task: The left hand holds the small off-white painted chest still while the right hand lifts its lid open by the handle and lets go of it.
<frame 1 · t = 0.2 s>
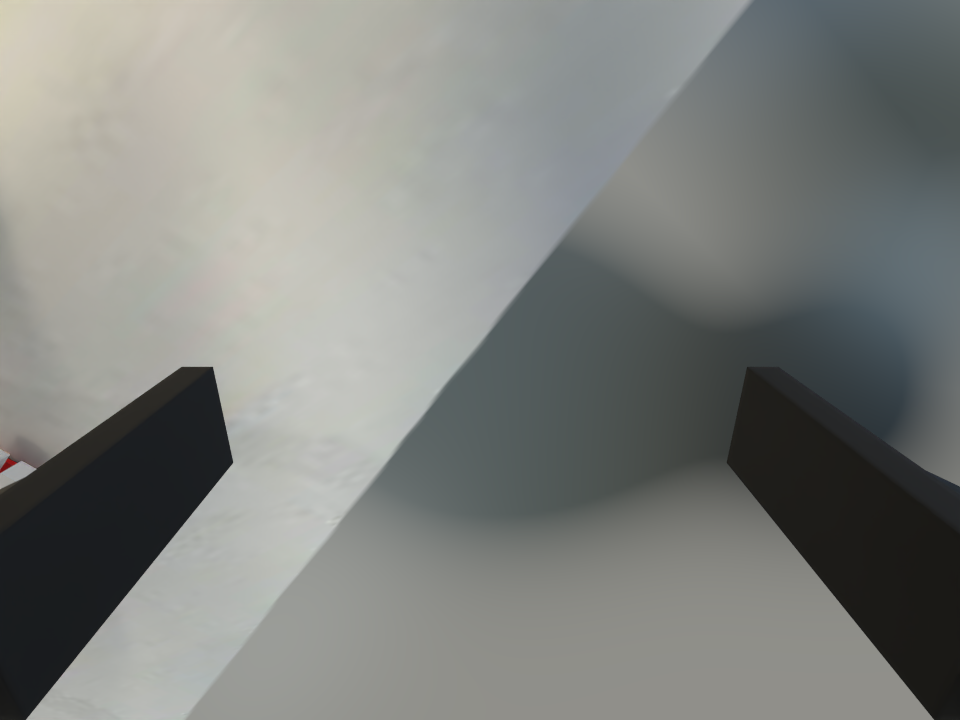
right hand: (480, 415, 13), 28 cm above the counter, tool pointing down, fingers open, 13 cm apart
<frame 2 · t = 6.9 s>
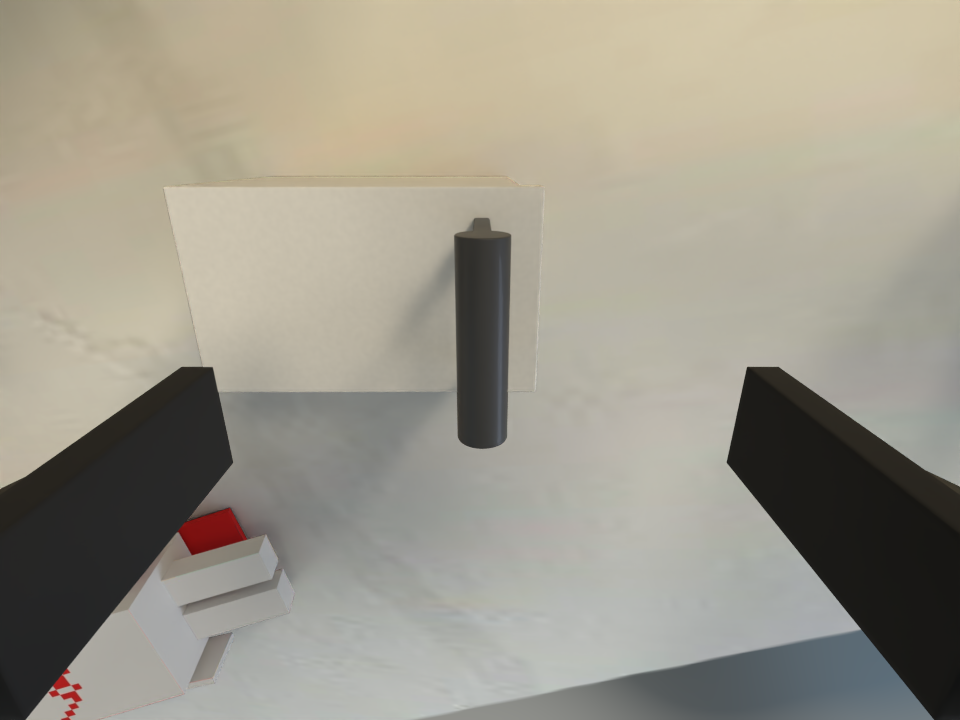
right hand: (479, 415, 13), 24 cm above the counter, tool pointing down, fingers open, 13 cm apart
chest: (394, 251, 35), on the counter
lid: (348, 315, 21), point 15 cm above the counter, hinge at 0.0°
toy: (138, 567, 46), on the counter
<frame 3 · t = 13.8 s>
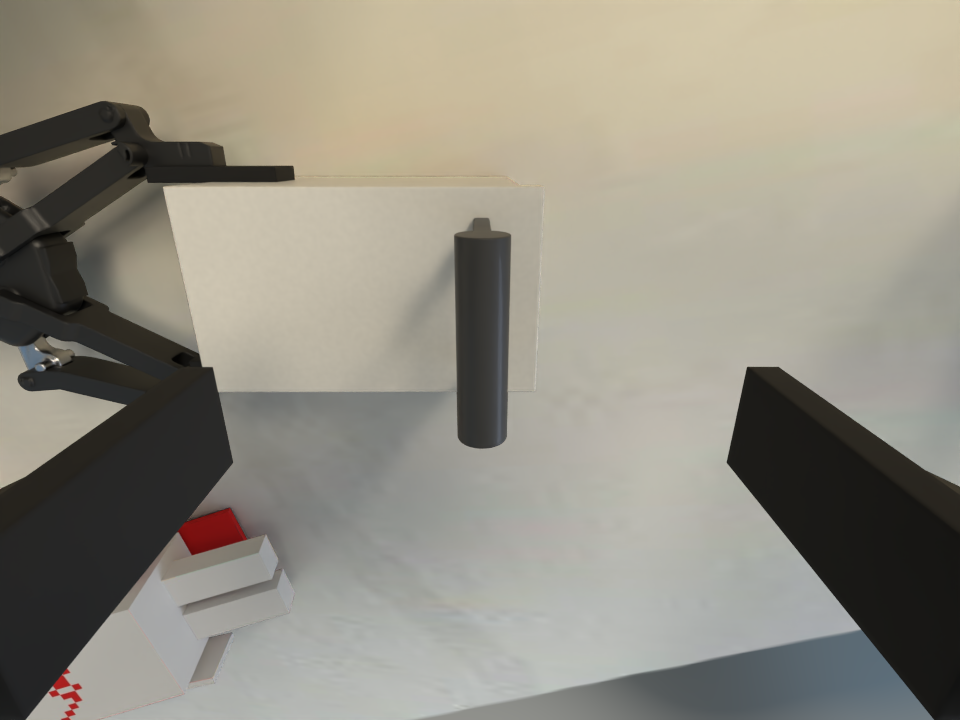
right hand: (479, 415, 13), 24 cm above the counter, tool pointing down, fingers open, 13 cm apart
left hand: (298, 272, 29), fingers closed on chest, 10 cm apart
chest: (394, 251, 35), on the counter, touching left hand
lid: (348, 315, 21), point 15 cm above the counter, hinge at -0.1°
toy: (138, 567, 46), on the counter
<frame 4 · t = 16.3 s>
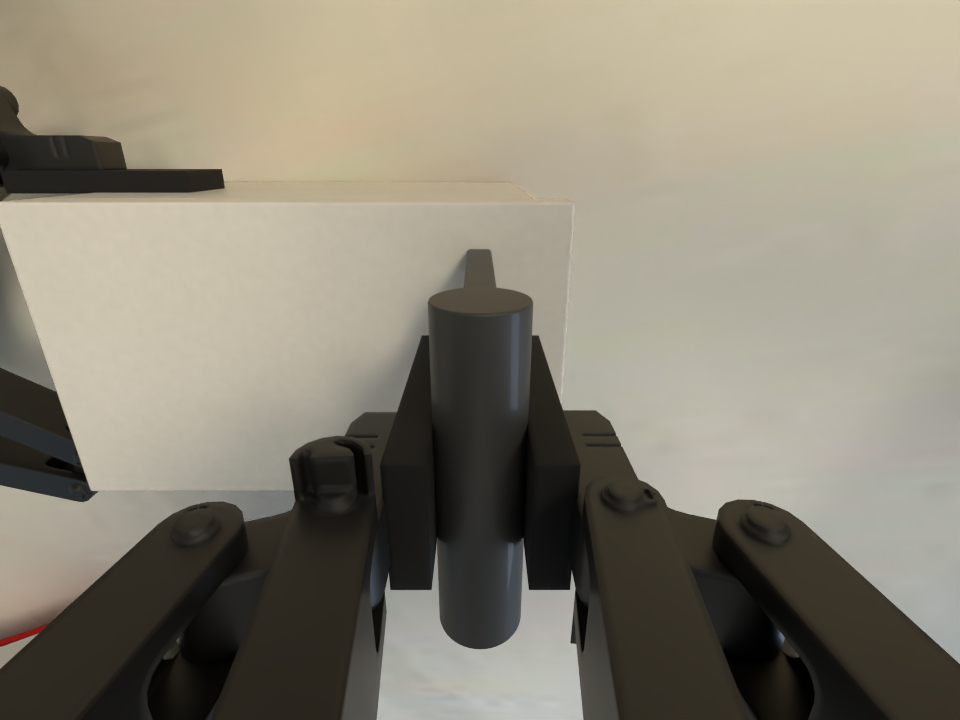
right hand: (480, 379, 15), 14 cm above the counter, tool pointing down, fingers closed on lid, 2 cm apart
chest: (369, 276, 28), on the counter, touching left hand
lid: (271, 405, 13), point 15 cm above the counter, hinge at -0.1°, touching right hand
toy: (69, 648, 38), on the counter
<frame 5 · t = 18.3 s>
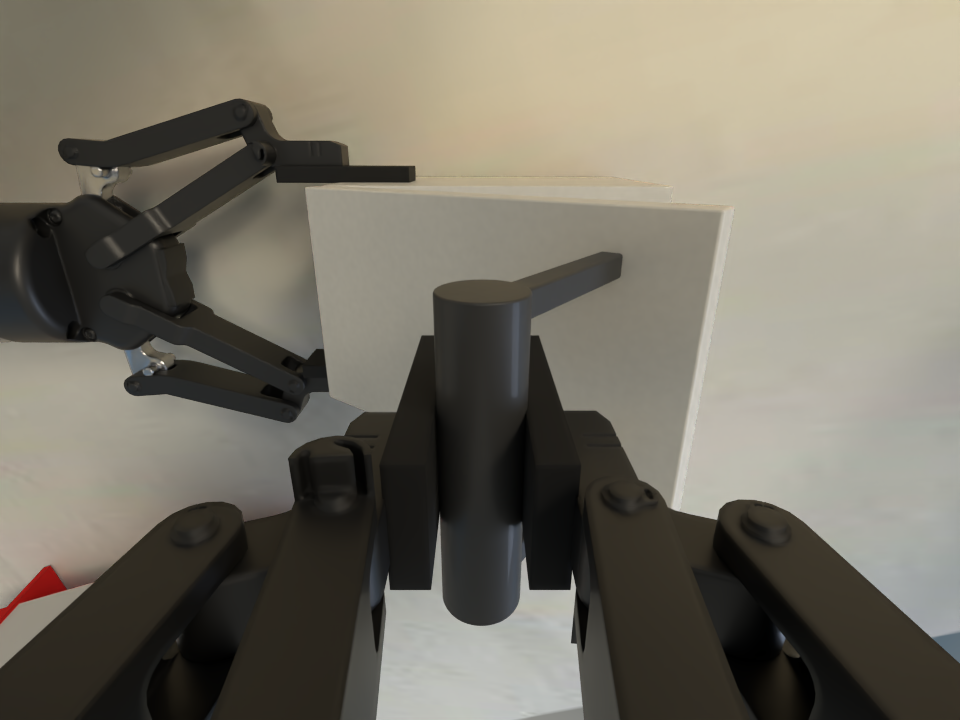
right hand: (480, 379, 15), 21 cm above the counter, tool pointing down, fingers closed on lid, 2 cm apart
left hand: (416, 275, 28), fingers closed on chest, 10 cm apart
chest: (492, 253, 34), on the counter, touching left hand
lid: (403, 359, 16), point 20 cm above the counter, hinge at 35.5°, touching right hand
toy: (210, 574, 45), on the counter
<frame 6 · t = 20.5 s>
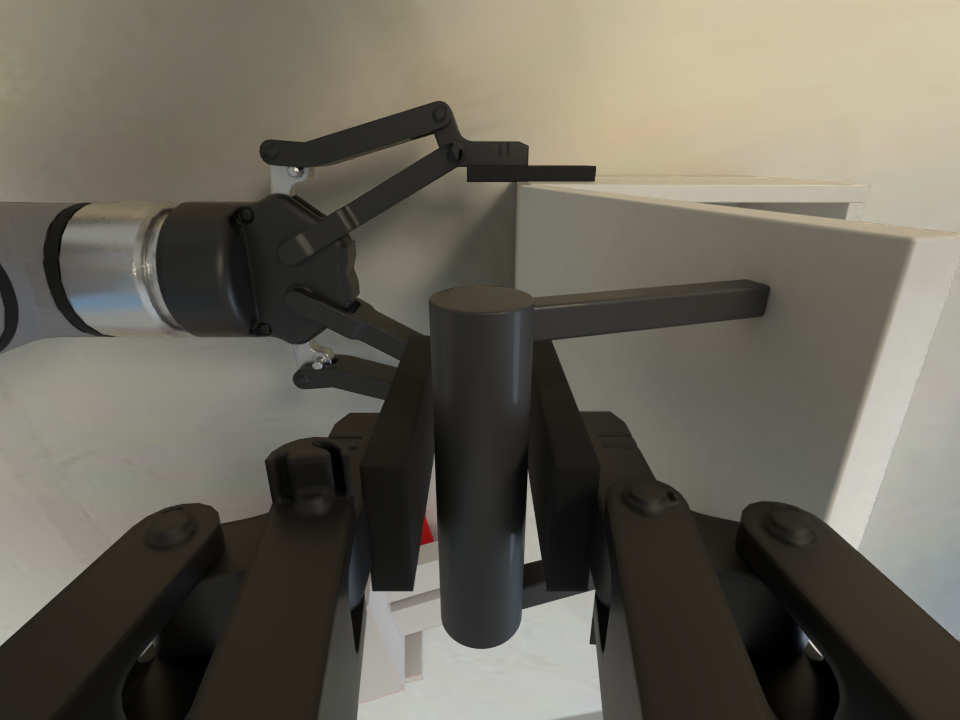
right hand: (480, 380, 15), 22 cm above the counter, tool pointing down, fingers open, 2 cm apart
left hand: (582, 271, 29), fingers closed on chest, 10 cm apart
chest: (626, 250, 35), on the counter, touching left hand
lid: (525, 361, 16), point 21 cm above the counter, hinge at 71.4°
toy: (318, 565, 46), on the counter
when the left hand's fingers open (7 cm above the counter, at t = 24.4 s): chest stays where it is, on the counter.
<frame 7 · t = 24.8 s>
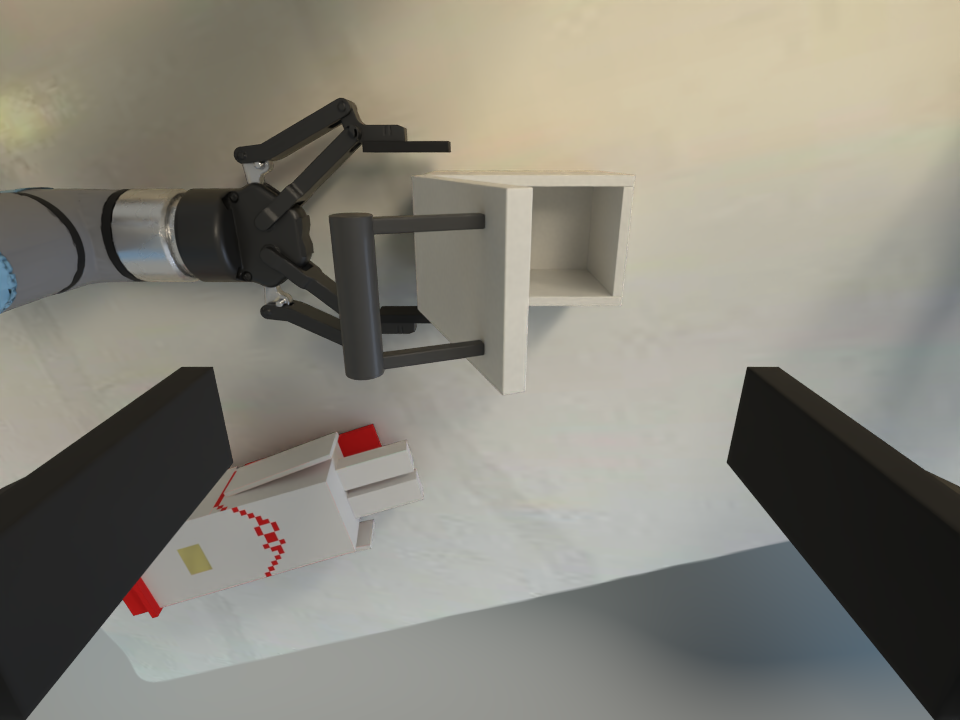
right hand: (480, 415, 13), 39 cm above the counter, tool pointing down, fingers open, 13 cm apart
left hand: (452, 235, 42), fingers open, 13 cm apart
chest: (516, 225, 49), on the counter
lid: (400, 270, 29), point 21 cm above the counter, hinge at 68.8°
toy: (295, 473, 59), on the counter
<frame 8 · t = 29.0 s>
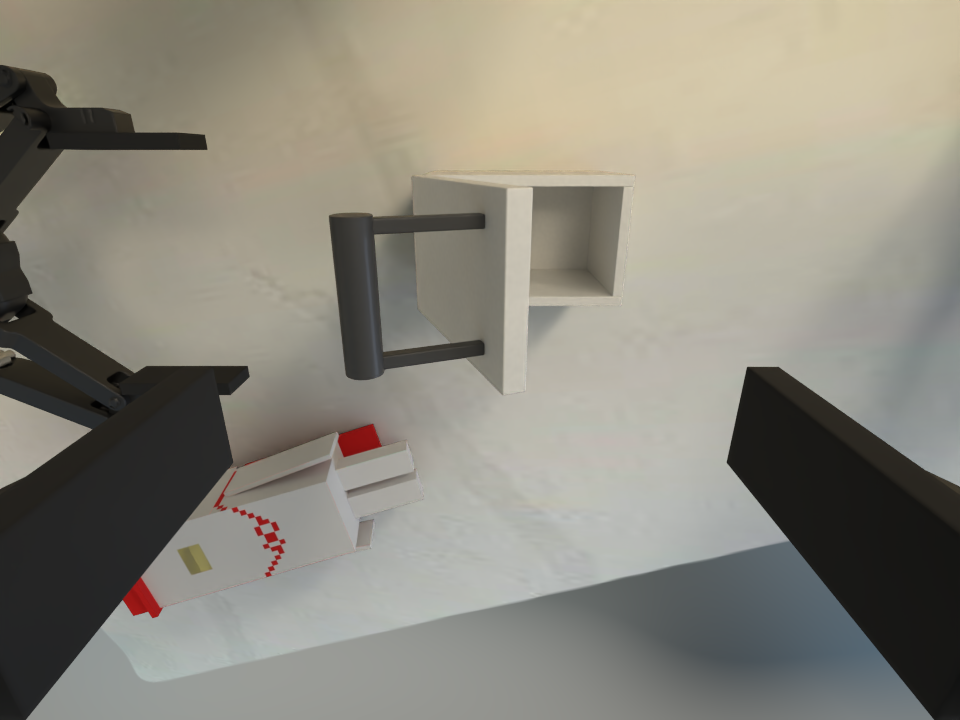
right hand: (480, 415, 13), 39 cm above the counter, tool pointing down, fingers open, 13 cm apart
left hand: (219, 271, 29), fingers open, 13 cm apart
chest: (516, 225, 49), on the counter
lid: (400, 270, 29), point 21 cm above the counter, hinge at 68.8°
toy: (295, 473, 59), on the counter
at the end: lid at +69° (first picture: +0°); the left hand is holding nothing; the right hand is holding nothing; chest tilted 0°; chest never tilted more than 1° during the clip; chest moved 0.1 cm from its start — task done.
